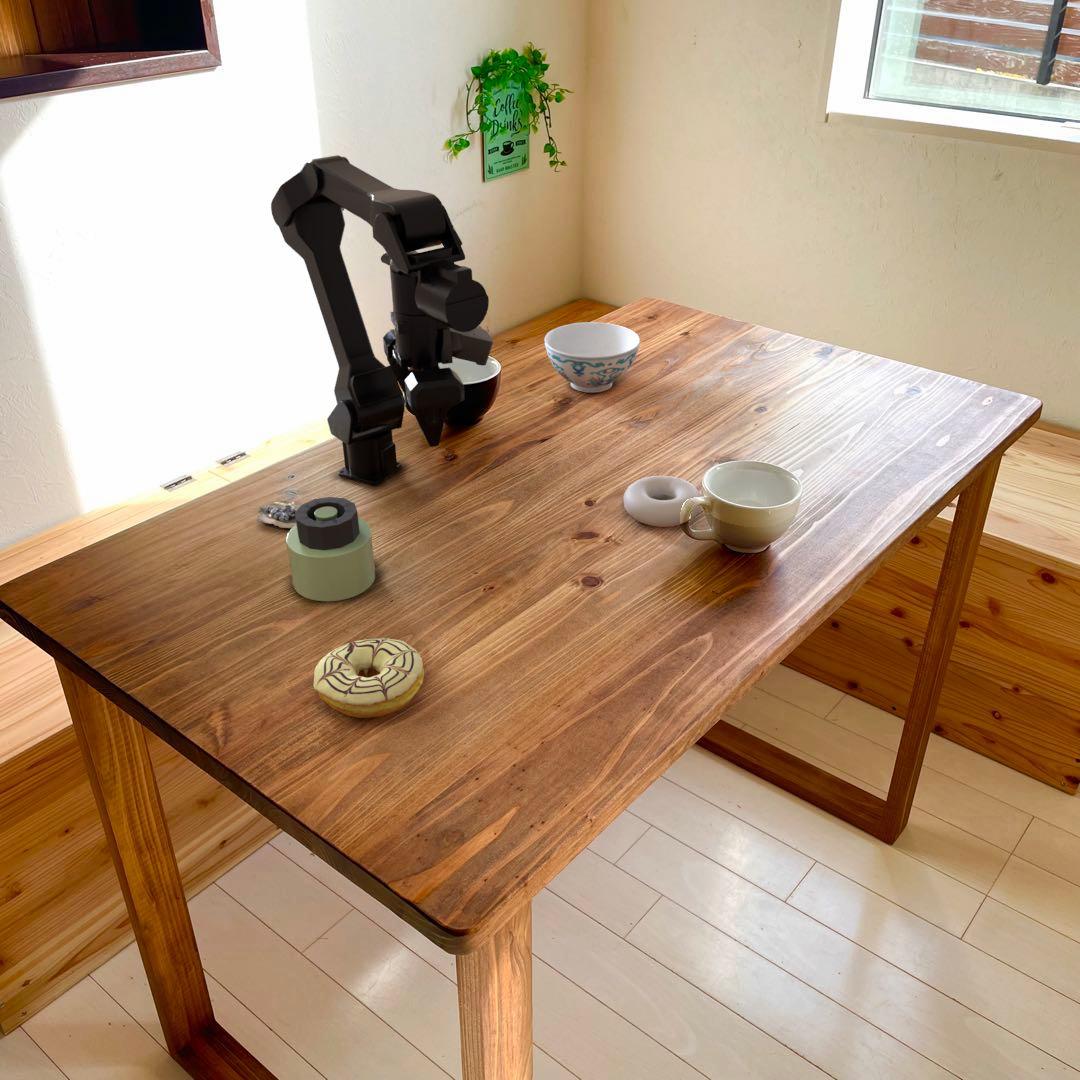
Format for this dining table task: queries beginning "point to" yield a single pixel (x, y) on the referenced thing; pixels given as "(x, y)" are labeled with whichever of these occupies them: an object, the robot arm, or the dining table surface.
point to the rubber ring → (327, 524)
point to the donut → (659, 500)
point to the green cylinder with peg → (332, 564)
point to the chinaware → (591, 353)
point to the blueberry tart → (279, 514)
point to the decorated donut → (369, 677)
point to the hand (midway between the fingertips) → (426, 430)
